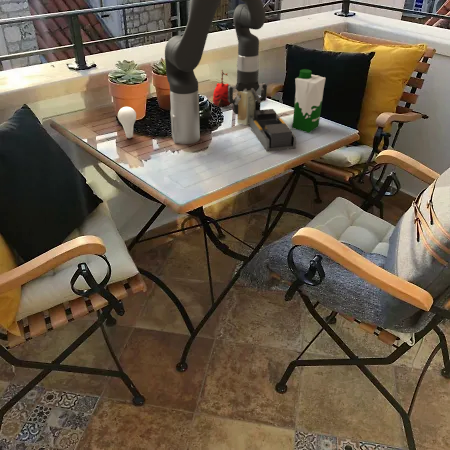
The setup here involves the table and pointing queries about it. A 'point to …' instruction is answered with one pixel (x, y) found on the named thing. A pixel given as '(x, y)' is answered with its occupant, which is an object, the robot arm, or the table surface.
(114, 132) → the table surface
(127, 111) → the lightbulb
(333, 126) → the table surface
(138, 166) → the table surface
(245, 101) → the skincare box
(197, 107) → the robot arm
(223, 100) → the red clay folk toy
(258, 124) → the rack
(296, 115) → the milk carton
